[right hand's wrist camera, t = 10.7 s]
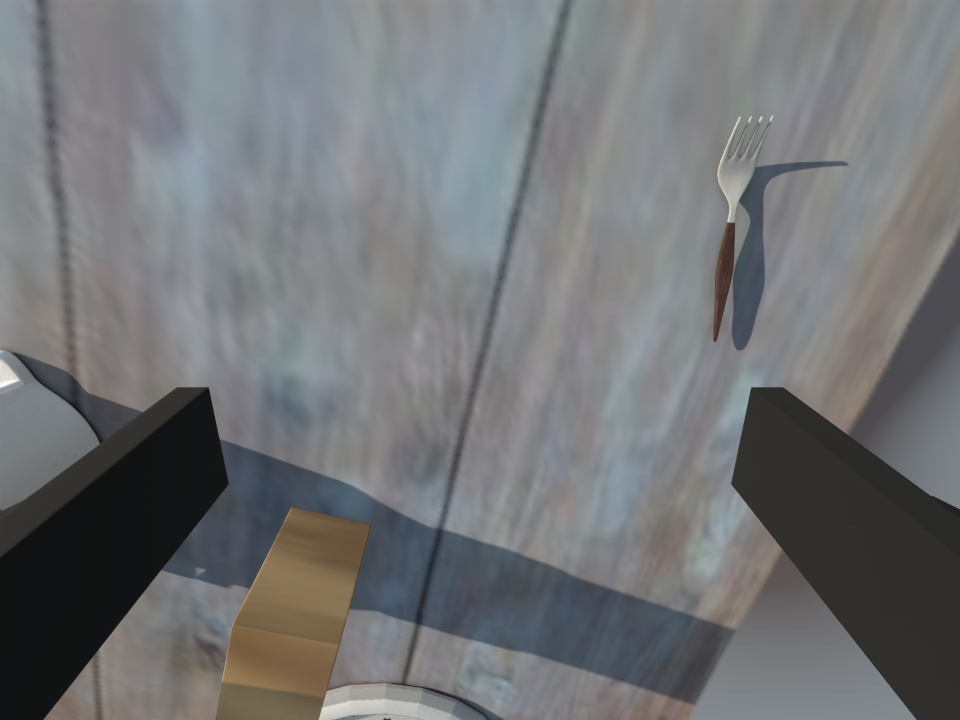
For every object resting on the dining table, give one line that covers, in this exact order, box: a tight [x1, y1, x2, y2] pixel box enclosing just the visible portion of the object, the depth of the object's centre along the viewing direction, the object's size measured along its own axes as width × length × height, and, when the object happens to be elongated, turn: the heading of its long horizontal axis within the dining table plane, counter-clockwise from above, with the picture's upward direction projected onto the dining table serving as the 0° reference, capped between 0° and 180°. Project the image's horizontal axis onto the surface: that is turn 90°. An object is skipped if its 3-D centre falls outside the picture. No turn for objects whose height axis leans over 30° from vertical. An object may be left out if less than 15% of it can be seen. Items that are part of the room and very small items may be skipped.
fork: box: [713, 116, 774, 342], centre depth 37 cm, size 3×16×2 cm, turn 2°
